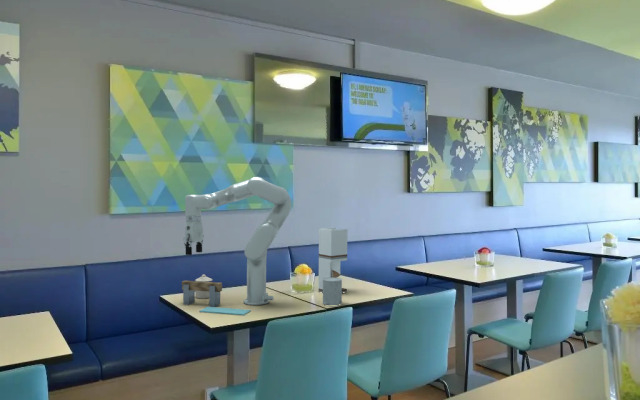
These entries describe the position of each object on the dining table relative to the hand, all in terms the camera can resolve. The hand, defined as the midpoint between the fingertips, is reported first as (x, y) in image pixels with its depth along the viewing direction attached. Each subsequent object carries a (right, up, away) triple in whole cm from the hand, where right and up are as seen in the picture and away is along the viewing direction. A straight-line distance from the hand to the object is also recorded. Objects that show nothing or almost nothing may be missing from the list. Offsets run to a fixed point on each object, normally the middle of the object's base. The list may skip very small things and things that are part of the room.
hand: (194, 253), depth 252 cm
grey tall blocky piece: (+70, -24, +25) cm, 78 cm away
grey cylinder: (+69, -25, -1) cm, 73 cm away
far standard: (-2, -24, -2) cm, 25 cm away
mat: (+19, -25, -18) cm, 36 cm away
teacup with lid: (+1, -24, +14) cm, 28 cm away
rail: (+5, -18, -4) cm, 19 cm away
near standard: (+12, -25, -6) cm, 28 cm away
